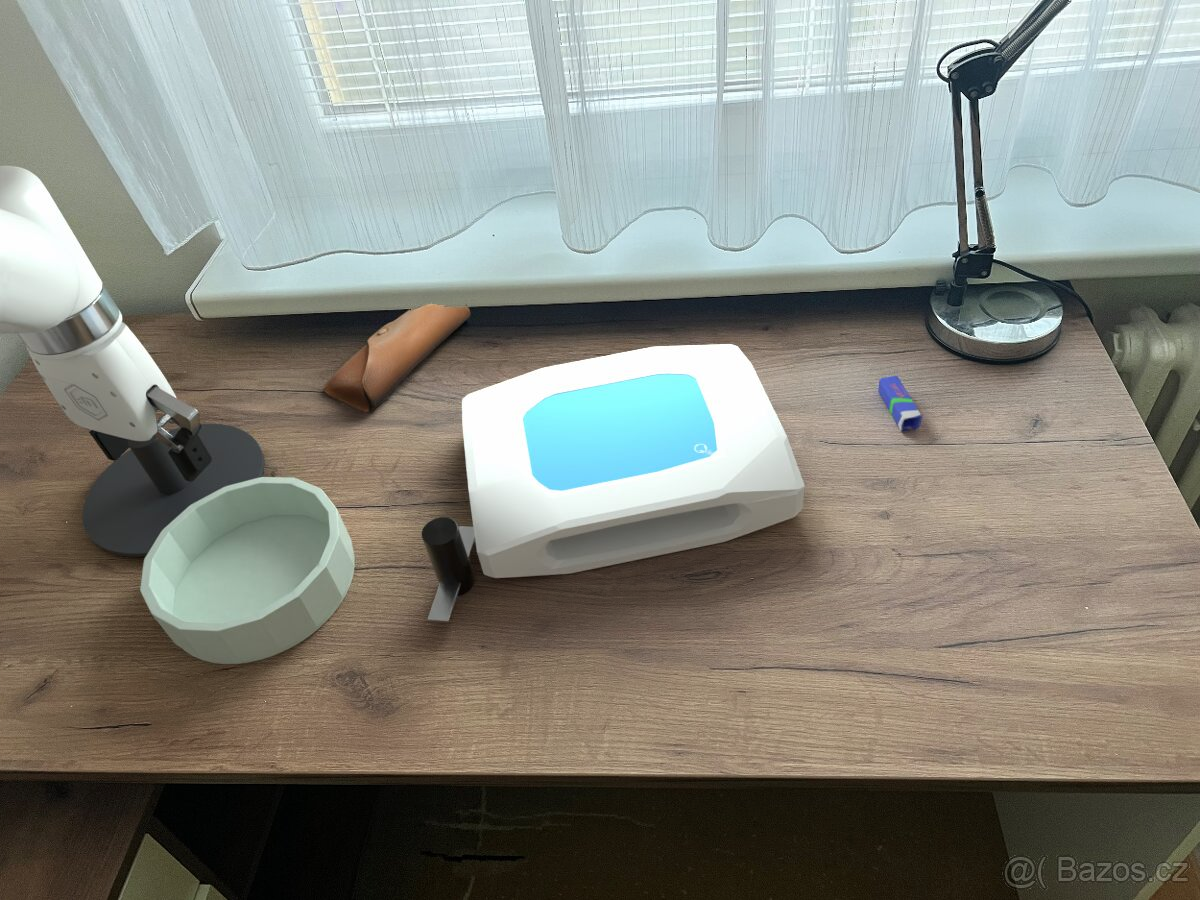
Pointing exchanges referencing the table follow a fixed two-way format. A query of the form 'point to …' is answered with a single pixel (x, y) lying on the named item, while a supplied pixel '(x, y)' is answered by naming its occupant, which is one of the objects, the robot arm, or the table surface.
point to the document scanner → (624, 460)
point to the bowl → (249, 570)
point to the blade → (449, 563)
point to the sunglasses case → (393, 355)
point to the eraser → (899, 403)
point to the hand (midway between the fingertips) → (160, 460)
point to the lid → (162, 487)
